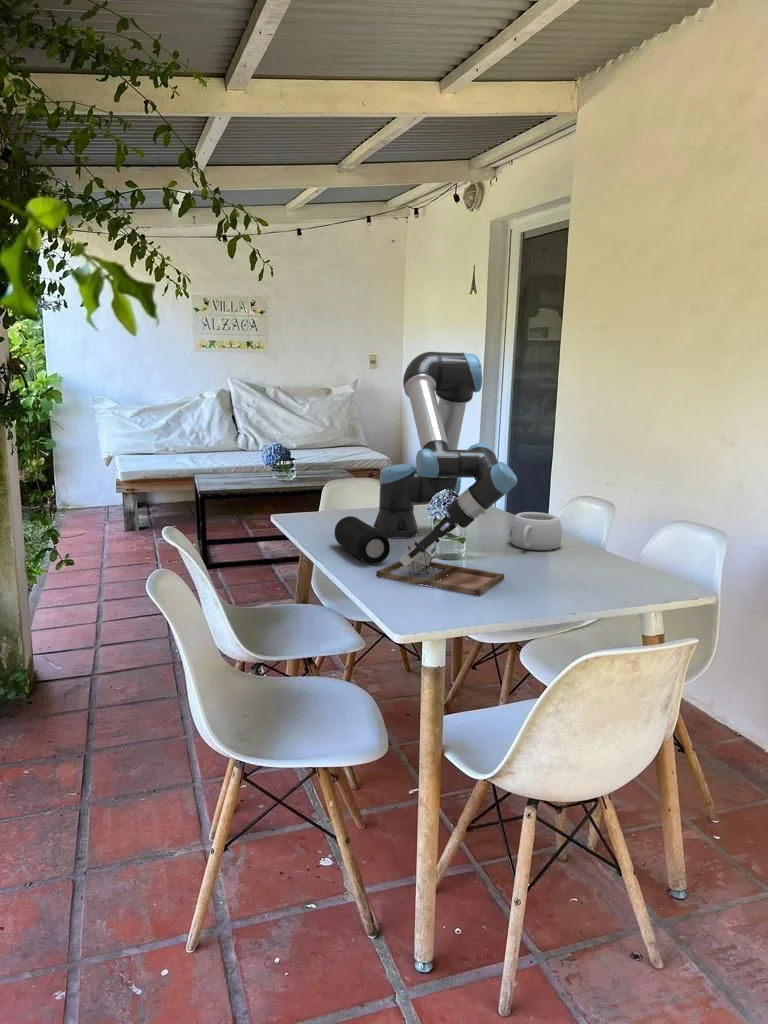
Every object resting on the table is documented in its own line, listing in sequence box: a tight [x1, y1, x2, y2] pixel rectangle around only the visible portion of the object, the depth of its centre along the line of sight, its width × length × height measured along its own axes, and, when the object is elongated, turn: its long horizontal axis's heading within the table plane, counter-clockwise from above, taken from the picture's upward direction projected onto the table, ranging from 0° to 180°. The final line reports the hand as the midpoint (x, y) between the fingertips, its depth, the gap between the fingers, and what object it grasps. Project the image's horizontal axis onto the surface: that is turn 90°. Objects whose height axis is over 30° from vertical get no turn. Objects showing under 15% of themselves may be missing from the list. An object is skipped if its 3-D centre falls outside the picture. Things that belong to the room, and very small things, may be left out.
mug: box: [509, 511, 563, 551], centre depth 242 cm, size 21×17×10 cm
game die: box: [401, 545, 436, 577], centre depth 207 cm, size 9×8×10 cm
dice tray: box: [375, 560, 505, 597], centre depth 205 cm, size 30×18×2 cm, turn 61°
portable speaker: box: [334, 515, 391, 565], centre depth 225 cm, size 26×10×10 cm, turn 22°
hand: (408, 557), depth 208 cm, fingers open, 12 cm apart
